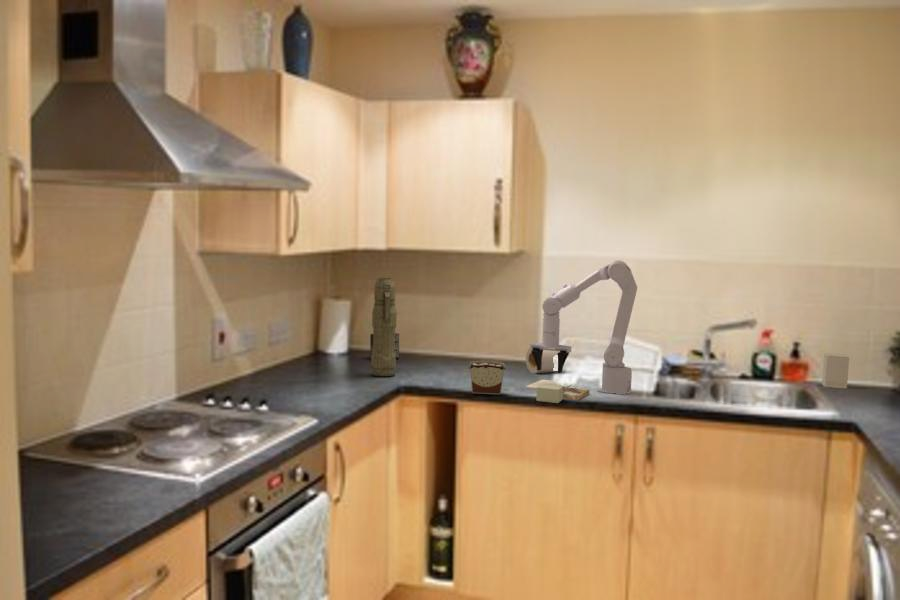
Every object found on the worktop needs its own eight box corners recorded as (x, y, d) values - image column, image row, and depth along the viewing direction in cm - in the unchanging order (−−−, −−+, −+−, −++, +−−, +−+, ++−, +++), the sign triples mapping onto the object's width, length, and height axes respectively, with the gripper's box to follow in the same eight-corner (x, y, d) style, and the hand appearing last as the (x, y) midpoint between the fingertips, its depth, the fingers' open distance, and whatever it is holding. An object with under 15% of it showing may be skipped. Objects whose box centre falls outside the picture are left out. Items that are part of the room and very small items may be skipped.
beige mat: (571, 385, 274) (571, 383, 274) (555, 392, 261) (555, 390, 261) (542, 381, 280) (542, 379, 280) (525, 388, 267) (525, 386, 266)
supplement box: (847, 392, 276) (849, 357, 274) (823, 390, 278) (826, 355, 277) (843, 388, 282) (846, 354, 281) (821, 386, 285) (823, 352, 284)
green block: (558, 403, 246) (536, 401, 248) (562, 400, 251) (541, 397, 254) (558, 389, 245) (536, 387, 248) (563, 386, 251) (541, 384, 253)
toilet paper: (547, 369, 305) (548, 344, 304) (561, 374, 296) (562, 348, 295) (525, 371, 300) (526, 345, 300) (538, 375, 291) (539, 349, 291)
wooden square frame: (589, 394, 260) (589, 390, 260) (578, 400, 250) (578, 395, 250) (562, 390, 264) (562, 386, 264) (550, 396, 255) (550, 392, 255)
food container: (505, 390, 262) (506, 361, 261) (505, 394, 256) (506, 364, 255) (468, 389, 263) (469, 359, 262) (467, 392, 257) (468, 362, 256)
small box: (390, 356, 325) (390, 331, 324) (399, 358, 320) (400, 333, 319) (369, 358, 319) (369, 333, 318) (378, 361, 314) (378, 335, 313)
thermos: (376, 377, 279) (378, 279, 276) (367, 371, 290) (368, 277, 287) (400, 376, 282) (402, 279, 279) (389, 370, 293) (391, 277, 290)
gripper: (575, 332, 269) (573, 371, 270) (535, 329, 276) (534, 367, 277) (567, 334, 263) (566, 374, 264) (527, 331, 270) (526, 370, 271)
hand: (549, 371), depth 270 cm, fingers open, 7 cm apart
